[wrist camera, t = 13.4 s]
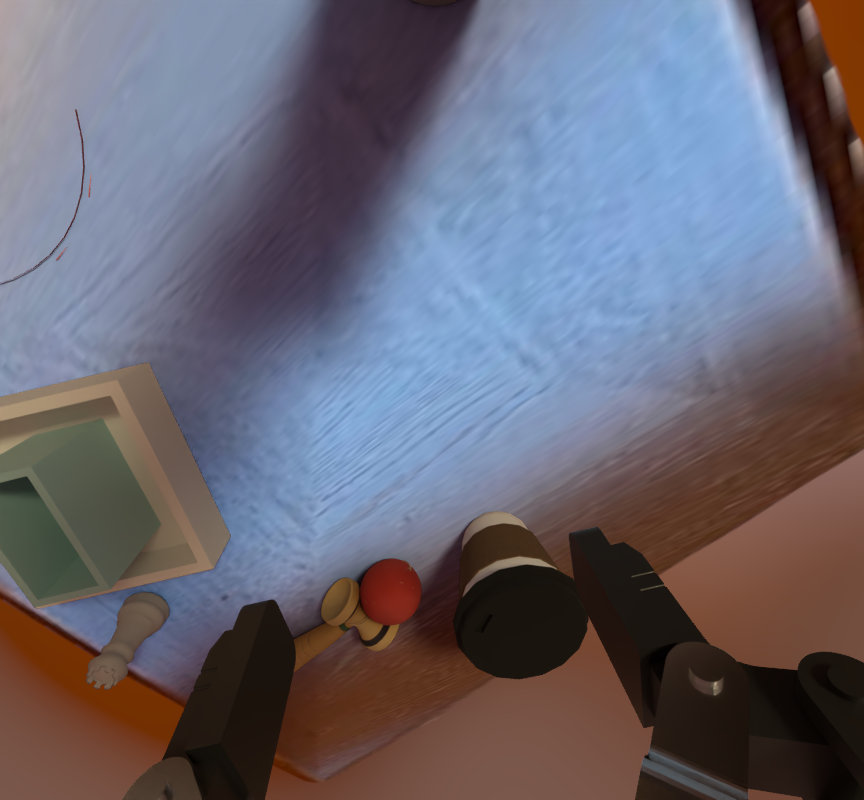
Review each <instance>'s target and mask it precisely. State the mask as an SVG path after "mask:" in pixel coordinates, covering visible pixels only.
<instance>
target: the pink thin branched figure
mask: <svg viewBox="0 0 864 800" xmlns="http://www.w3.org/2000/svg"><path fill="white" fill-rule="evenodd" d="M75 112H76V116H77V121H78V126H79V130H80V135H81V141H82V156H83V176H82V186H81V194H80V198H79V202H78V205H77V209H76V212H75V216H74V218H73V220H72V222H71V224H70V226H69V228H68V230H69V229H70V227H71V225H72V223H73V221H74V219H75V217H76V213H77V210H78V206H79V203H80V199H81V196H82V189H83V178H84V168H85V167H84V152H83V139H82V134H81V129H80V124H79V120H78V115H77V110H76V109H75ZM90 181H91V176H90ZM88 197H90V186H89V195H88ZM68 230H67V232H68ZM67 232H66V234H67ZM66 234H65V236H66ZM65 236H64V238H65ZM64 238H63V239H64ZM63 239H62V240H63ZM62 240H61V241H60V243H61V242H62ZM60 243H59V244H60ZM59 244H58V245H59ZM69 244H70V243H69ZM58 245H57V246H56V248H57V247H58ZM56 248H55V249H56ZM66 248H67V247H66ZM66 248H65V249H66ZM55 249H54V250H55ZM54 250H53V251H52V253H53V252H54ZM63 252H64V251H63ZM63 252H62V253H63ZM52 253H51V254H52ZM62 253H61V254H62ZM51 254H50V255H51ZM61 254H60V256H61ZM50 255H49V256H50ZM49 256H47V257H49ZM60 256H59V257H60ZM47 257H46V258H47ZM59 257H58V258H59ZM46 258H45V259H46ZM58 258H57V259H56V260H58ZM45 259H44V260H45ZM44 260H43V261H44ZM41 262H42V261H41ZM41 262H40V263H41ZM40 263H39V264H40ZM39 264H38V265H39ZM38 265H36V266H38ZM36 266H35V267H36ZM35 267H34V268H35ZM34 268H33V269H34ZM31 270H32V269H31ZM29 271H30V270H29ZM27 272H28V271H27ZM25 273H26V272H25ZM23 274H24V273H23ZM21 275H22V274H21ZM19 276H20V275H19ZM17 277H18V276H17ZM15 278H16V277H15ZM13 279H14V278H13ZM10 280H11V279H10ZM7 281H8V280H7ZM0 283H1V282H0Z"/></svg>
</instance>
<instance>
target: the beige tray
mask: <svg viewBox="0 0 864 800" xmlns="http://www.w3.org/2000/svg"><path fill="white" fill-rule="evenodd" d="M102 418H103V420H104V422H105V424H106V426H107V427H108V429H109V431H110V433H111V435H112V436H113V438H114V440H115V442H116V444H117V445H118V447H119V449H120V451H121V453H122V454H123V456H124V458H125V460H126V462H127V463H128V465H129V467H130V469H131V471H132V472H133V474H134V476H135V478H136V480H137V481H138V483H139V485H140V487H141V489H142V490H143V492H144V494H145V496H146V498H147V500H148V501H149V503H150V505H151V507H152V509H153V510H154V512H155V514H156V516H157V518H158V519H159V521H160V523H161V525H160V527H159V528H158V529H157V530H156V532H155V533H154V534H153V536H152V537H151V538H150V540H149V541H148V542H147V543H146V545H145V546H144V547H143V549H142V550H141V551H140V552H139V554H138V555H137V556H136V558H135V559H134V560H133V561H132V563H131V564H130V565H129V567H128V568H127V569H126V570H125V572H124V573H123V574H122V576H121V577H120V578H119V579H118V581H117V582H116V583H115V585H114V586H113V587H112V588H111V590H107V591H103V592H98V593H94V594H90V595H86V596H82V597H77V598H73V599H69V600H65V601H61V602H56V603H52V604H48V605H44V606H40V607H36V608H37V609H40V608H44V607H49V606H53V605H57V604H62V603H66V602H71V601H75V600H79V599H84V598H88V597H92V596H97V595H101V594H106V593H110V592H114V591H119V590H123V589H128V588H132V587H136V586H141V585H145V584H149V583H154V582H158V581H163V580H167V579H171V578H176V577H180V576H184V575H189V574H193V573H198V572H202V571H206V570H211V569H214V567H215V565H216V563H217V561H218V559H219V557H220V556H221V554H222V552H223V550H224V548H225V546H226V544H227V542H228V540H229V538H230V537H231V535H230V533H229V531H228V529H227V527H226V525H225V523H224V521H223V518H222V516H221V514H220V512H219V510H218V508H217V506H216V504H215V502H214V500H213V497H212V495H211V493H210V491H209V489H208V487H207V485H206V483H205V481H204V478H203V476H202V474H201V472H200V470H199V468H198V466H197V464H196V462H195V459H194V457H193V455H192V453H191V451H190V449H189V447H188V445H187V443H186V441H185V438H184V436H183V434H182V432H181V430H180V428H179V426H178V424H177V422H176V419H175V417H174V415H173V413H172V411H171V409H170V407H169V405H168V403H167V401H166V398H165V396H164V394H163V392H162V390H161V388H160V386H159V384H158V382H157V379H156V377H155V375H154V373H153V371H152V369H151V367H150V365H149V363H143V364H139V365H135V366H131V367H126V368H122V369H118V370H113V371H109V372H105V373H100V374H96V375H92V376H88V377H83V378H79V379H75V380H70V381H66V382H62V383H58V384H53V385H49V386H45V387H40V388H36V389H32V390H27V391H23V392H19V393H15V394H10V395H6V396H2V397H0V454H2V453H4V452H6V451H7V450H9V449H11V448H12V447H14V446H16V445H18V444H19V443H21V442H23V441H24V440H26V439H28V438H29V437H31V436H33V435H36V434H41V433H45V432H49V431H53V430H57V429H61V428H65V427H69V426H74V425H78V424H82V423H86V422H90V421H94V420H98V419H102Z"/></svg>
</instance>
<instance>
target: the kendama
mask: <svg viewBox="0 0 864 800" xmlns="http://www.w3.org/2000/svg"><path fill="white" fill-rule="evenodd" d="M421 593H422V588H421V583H420V580H419V577H418V575H417V573H416V572H415V570H414V569H413V568H412V567H411V566H410V564H409V563H407V562H406V561H403V560H399V559H385V560H382V561H379V562H377V563H376V564H374V565H373V566H372V567H371V568H370V569H369V570H368V571H367V572H366V574H365V575H364V577H363V580H362V583H361V586H360V587H359V585H358V583H357V582H355V581H354V580H352V579H350V578H342V579H340V580H338V581H337V582H336V583H335V584H334V585H333V586H332V587H331V588H330V590H329V591H328V593H327V594H326V596H325V598H324V600H323V604H322V607H321V616H322V619H323V620H324V621H325V622H326V623H324V624H322V625H320V626H318V627H316V628H314V629H313V630H311V631H309V632H307V633H305V634H303V635H301V636H299V637H297V638H296V639H294V643H295V649H296V662H295V668H294V672H295V671H297V670H298V669H299V668H300V667H302V666H303V665H304V664H305V663H307V662H308V661H309V660H311V659H312V658H313V657H315V656H316V655H318V654H319V653H320V652H322V651H323V650H325V649H326V648H327V647H329V646H330V645H331V644H333V643H334V642H335V641H336V640H338V639H339V638H340V637H341V636H342V635H343V634H344V633H346V632H347V631H348V630H349V629H350V628H351V627H352V626H356V627H357V629H358V630H359V636H360V641H361V643H362V644H363V646H365V647H366V648H368V649H370V650H373V651H380V650H382V649H384V648H386V647H387V646H388V645H389V644H390V643H391V641H392V640H393V638H394V637H395V635H396V633H397V630H398V627H399V624H400V623H403V622H404V621H406V620H407V619H409V618H410V617H411V616H412V615H413V614H414V612H415V611H416V609H417V608H418V605H419V603H420V600H421Z"/></svg>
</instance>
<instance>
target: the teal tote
mask: <svg viewBox="0 0 864 800" xmlns="http://www.w3.org/2000/svg"><path fill="white" fill-rule="evenodd" d="M160 525H161V523H160V521H159V519H158V518H157V516H156V514H155V512H154V510H153V509H152V507H151V505H150V503H149V501H148V500H147V498H146V496H145V494H144V492H143V490H142V489H141V487H140V485H139V483H138V481H137V480H136V478H135V476H134V474H133V472H132V471H131V469H130V467H129V465H128V463H127V462H126V460H125V458H124V456H123V454H122V453H121V451H120V449H119V447H118V445H117V444H116V442H115V440H114V438H113V436H112V435H111V433H110V431H109V429H108V427H107V426H106V424H105V422H104V420H103V418H102V419H98V420H94V421H90V422H86V423H82V424H78V425H74V426H69V427H65V428H61V429H57V430H53V431H49V432H45V433H41V434H36V435H33V436H31V437H29V438H28V439H26V440H24V441H23V442H21V443H19V444H18V445H16V446H14V447H12V448H11V449H9V450H7V451H6V452H4V453H2V454H0V562H1V564H2V565H3V566H4V568H5V569H6V570H7V572H8V573H9V574H10V576H11V577H12V578H13V580H14V581H15V582H16V584H17V585H18V586H19V588H20V589H21V590H22V592H23V593H24V594H25V596H26V597H27V598H28V600H29V601H30V602H31V604H32V605H33V606H34V608H35V607H40V606H44V605H48V604H52V603H56V602H61V601H65V600H69V599H73V598H77V597H82V596H86V595H90V594H94V593H98V592H103V591H107V590H111V588H112V587H113V586H114V585H115V583H116V582H117V581H118V579H119V578H120V577H121V576H122V574H123V573H124V572H125V570H126V569H127V568H128V567H129V565H130V564H131V563H132V561H133V560H134V559H135V558H136V556H137V555H138V554H139V552H140V551H141V550H142V549H143V547H144V546H145V545H146V543H147V542H148V541H149V540H150V538H151V537H152V536H153V534H154V533H155V532H156V530H157V529H158V528H159V527H160Z"/></svg>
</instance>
